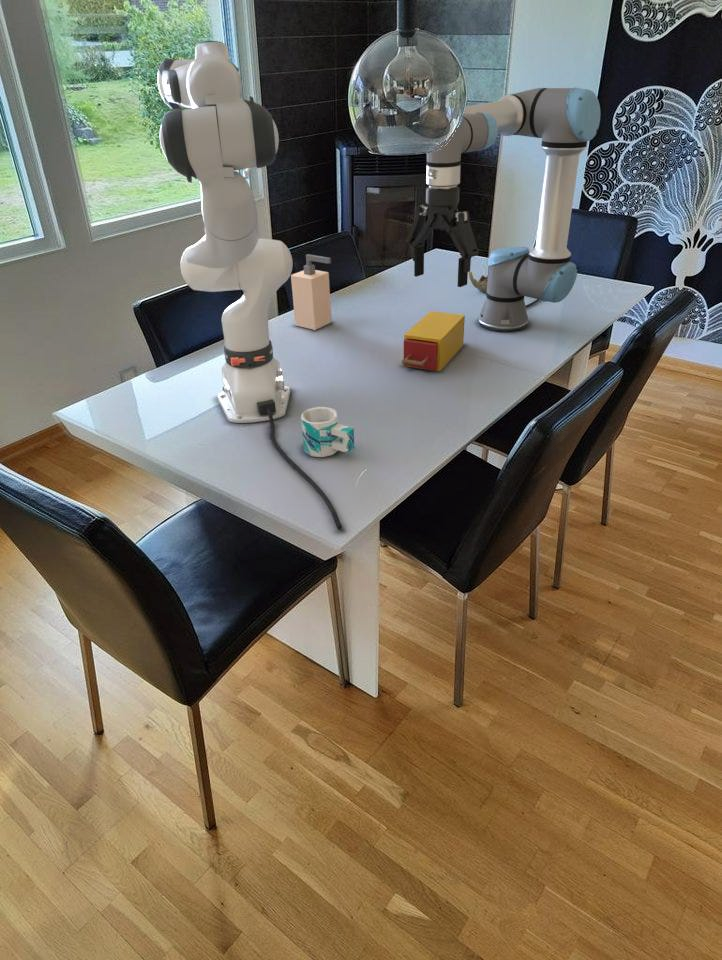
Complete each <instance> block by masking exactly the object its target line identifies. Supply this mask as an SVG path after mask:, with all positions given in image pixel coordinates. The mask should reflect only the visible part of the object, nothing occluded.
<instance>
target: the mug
mask: <svg viewBox="0 0 722 960" xmlns="http://www.w3.org/2000/svg"><path fill="white" fill-rule="evenodd" d="M300 422H301V423H300V424H301V432H302V446H303V452H304V453H305V454H307V455H308V456H310V457H316V458H324V457H329V456H333V455H334V454H336V453H337V452H342V453H346V454H349V453H351V452H352V451H353V450H354V449H356V448H355V428H354V427H351V426H347V425H344V424H341V423H339V422H338V411H337V410H335V409H334V408H332V407H326V406H316V407H310V408H307V409H306V410H304V411H303V412H301V414H300Z"/></svg>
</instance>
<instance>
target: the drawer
mask: <svg viewBox="0 0 722 960" xmlns="http://www.w3.org/2000/svg"><path fill="white" fill-rule="evenodd" d="M437 353H438V342H430V341H423V340H416V339H410V340H407V339H405V340H404V339H403V358H402V359H401V364H403V366H404V367H407V366H410V367H409V368H414V367H417V368H416V369H420V368H423V370H427V369H430V370H429V371H433V370H436V369H437Z"/></svg>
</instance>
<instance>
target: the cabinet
mask: <svg viewBox="0 0 722 960" xmlns="http://www.w3.org/2000/svg"><path fill="white" fill-rule="evenodd" d="M465 317H466V315H465V314H459V313H450V312H441V311H440V312H439V311H433V310H430V311H429V312H427V314H426V315H425V316H423V317H422V318H421V319H420V320H419V321H418V322H417V323H416V324H415V325H413V326H412V327H411V328H410V329H408V331H407V332H406V333H405V334H403V341H404V340H405V339H407V340H410V339H416V340H423V341H430V342H438V353H437V369H436V370H432V371H435V372H441V371H442V370H443V368H445V366H446V365H447V364H448V363H449V362H450V361H451V360H452V358H453V357H454V356H455V355H457V353H458V352H459V351H460V349H461V348H463V346H464V339H465V321H466V319H465ZM406 367H408V368H411V367H410V366H406ZM413 368H414V369H418V368H417V367H413ZM419 369H423V368H419ZM423 370H424V369H423ZM426 370H428V371H431V370H430V369H426Z"/></svg>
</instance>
